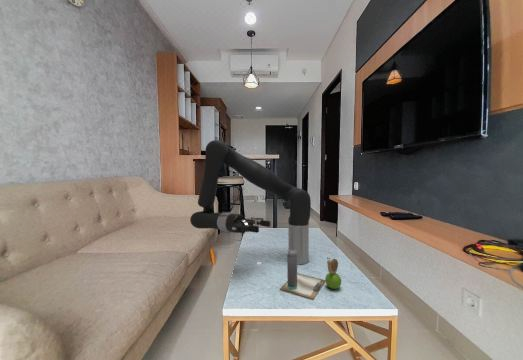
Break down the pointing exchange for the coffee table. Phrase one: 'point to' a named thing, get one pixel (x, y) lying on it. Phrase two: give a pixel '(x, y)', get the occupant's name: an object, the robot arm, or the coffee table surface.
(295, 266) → the cylinder
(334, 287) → the snail figurine
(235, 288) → the coffee table surface
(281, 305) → the coffee table surface
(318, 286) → the clipboard
